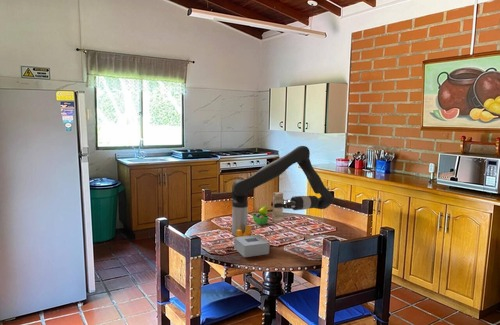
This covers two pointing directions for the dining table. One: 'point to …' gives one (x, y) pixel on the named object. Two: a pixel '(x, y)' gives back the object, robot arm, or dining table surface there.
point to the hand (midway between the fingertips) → (273, 205)
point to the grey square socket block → (251, 245)
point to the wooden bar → (277, 211)
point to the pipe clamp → (246, 233)
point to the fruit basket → (261, 216)
